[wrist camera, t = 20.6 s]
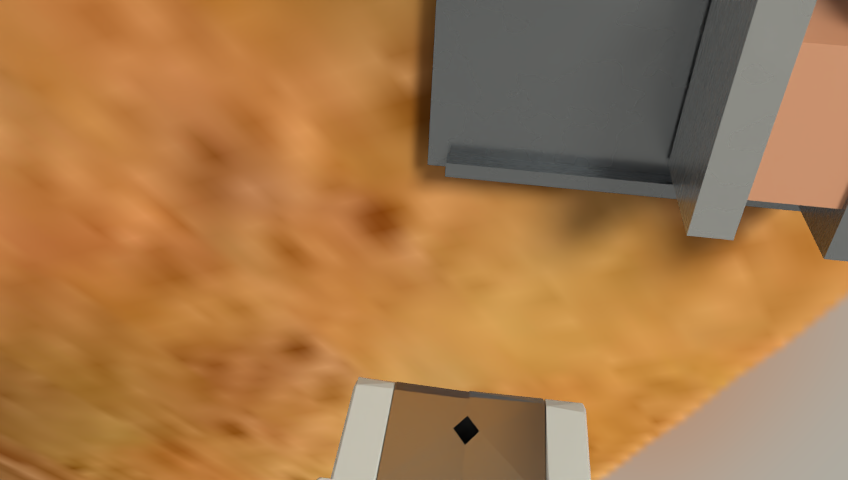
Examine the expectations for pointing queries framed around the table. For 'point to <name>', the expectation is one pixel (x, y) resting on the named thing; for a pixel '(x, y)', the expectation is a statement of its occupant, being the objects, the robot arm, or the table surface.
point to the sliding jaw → (733, 108)
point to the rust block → (811, 120)
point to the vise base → (574, 97)
